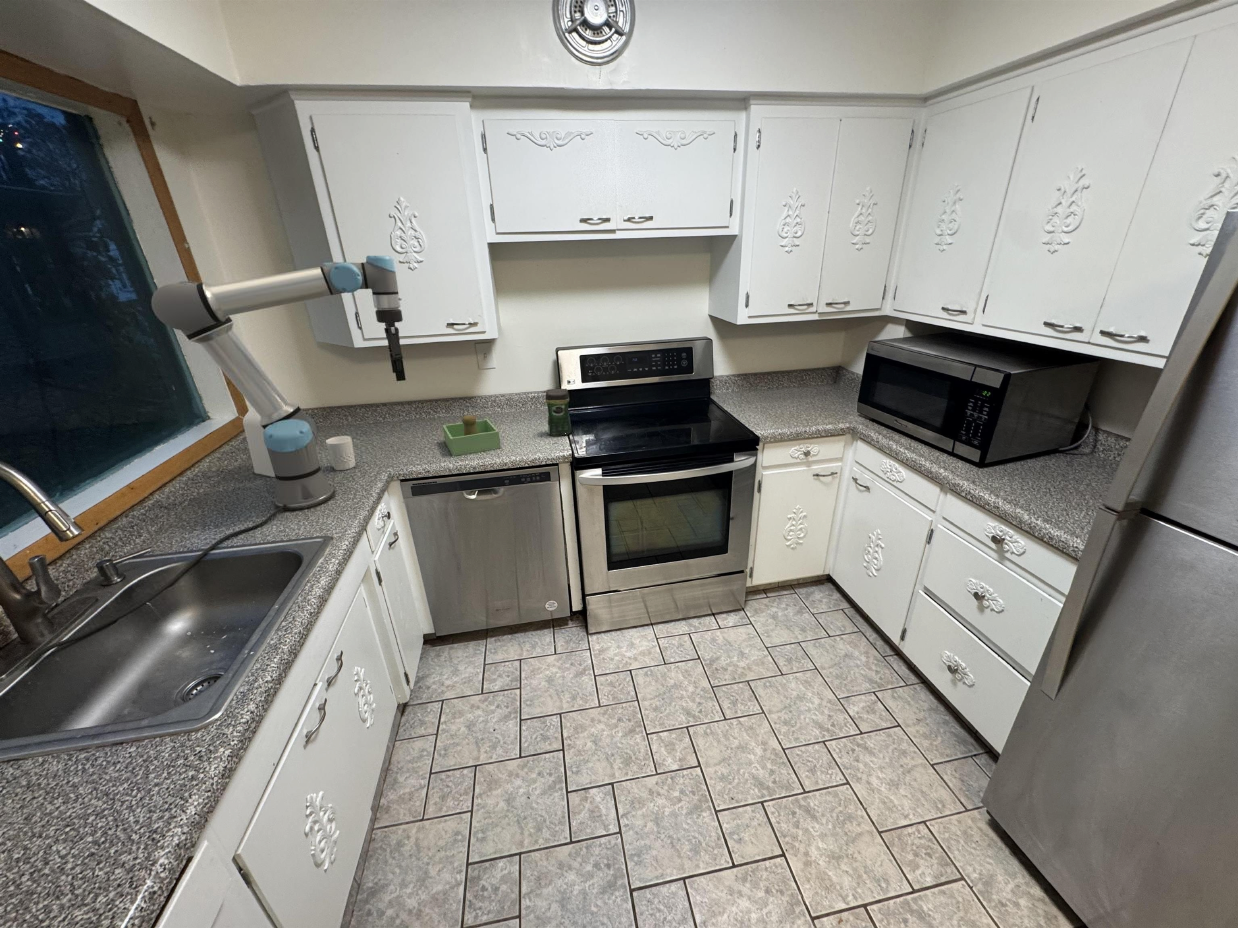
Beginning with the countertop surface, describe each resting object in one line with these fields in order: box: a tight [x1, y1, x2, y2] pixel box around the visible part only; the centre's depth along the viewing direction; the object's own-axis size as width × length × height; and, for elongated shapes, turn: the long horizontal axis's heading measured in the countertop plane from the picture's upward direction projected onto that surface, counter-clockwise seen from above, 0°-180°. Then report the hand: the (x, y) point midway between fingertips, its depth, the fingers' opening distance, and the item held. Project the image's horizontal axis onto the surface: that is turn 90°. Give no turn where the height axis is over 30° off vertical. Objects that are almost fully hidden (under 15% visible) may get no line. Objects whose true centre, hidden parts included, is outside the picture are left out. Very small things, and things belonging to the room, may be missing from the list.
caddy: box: [442, 418, 501, 457], centre depth 194 cm, size 18×18×7 cm
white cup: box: [325, 435, 356, 471], centre depth 174 cm, size 8×8×10 cm
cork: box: [461, 414, 478, 436], centre depth 193 cm, size 6×6×11 cm
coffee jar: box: [544, 388, 572, 437], centre depth 203 cm, size 10×8×19 cm
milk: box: [242, 406, 275, 478], centre depth 169 cm, size 12×12×26 cm
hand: (399, 376), depth 165 cm, fingers open, 13 cm apart
